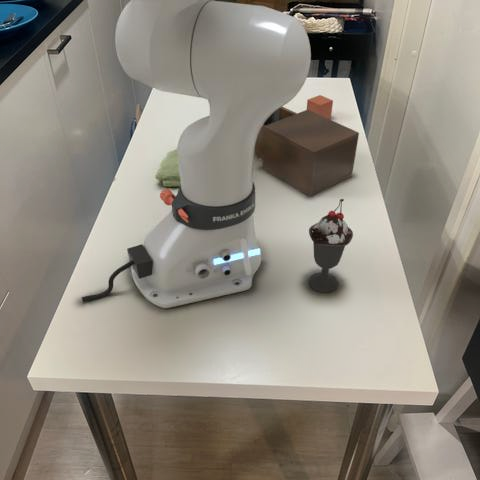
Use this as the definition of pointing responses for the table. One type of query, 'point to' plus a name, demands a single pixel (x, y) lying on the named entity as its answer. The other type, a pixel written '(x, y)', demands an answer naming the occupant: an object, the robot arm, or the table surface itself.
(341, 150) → the cabinet
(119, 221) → the table surface
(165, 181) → the washcloth
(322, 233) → the sundae
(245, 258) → the robot arm
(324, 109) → the block
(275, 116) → the drawer
